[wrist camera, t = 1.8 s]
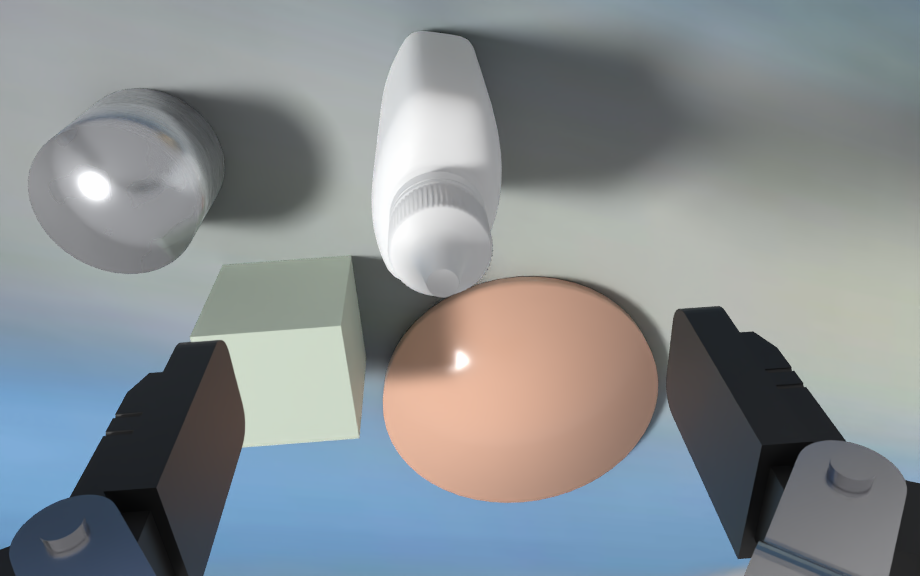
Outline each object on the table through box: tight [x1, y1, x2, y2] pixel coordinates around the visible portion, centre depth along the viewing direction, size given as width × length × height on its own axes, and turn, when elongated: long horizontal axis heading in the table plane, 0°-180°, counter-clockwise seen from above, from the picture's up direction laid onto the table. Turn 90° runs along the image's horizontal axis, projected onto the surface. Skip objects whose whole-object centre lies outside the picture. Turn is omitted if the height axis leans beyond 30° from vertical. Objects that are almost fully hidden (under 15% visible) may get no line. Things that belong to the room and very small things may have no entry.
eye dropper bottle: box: [372, 31, 502, 297], centre depth 21 cm, size 4×6×12 cm
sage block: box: [190, 256, 366, 447], centre depth 28 cm, size 5×5×5 cm
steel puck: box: [28, 88, 225, 274], centre depth 24 cm, size 5×5×4 cm
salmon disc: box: [383, 277, 658, 503], centre depth 32 cm, size 12×12×1 cm
